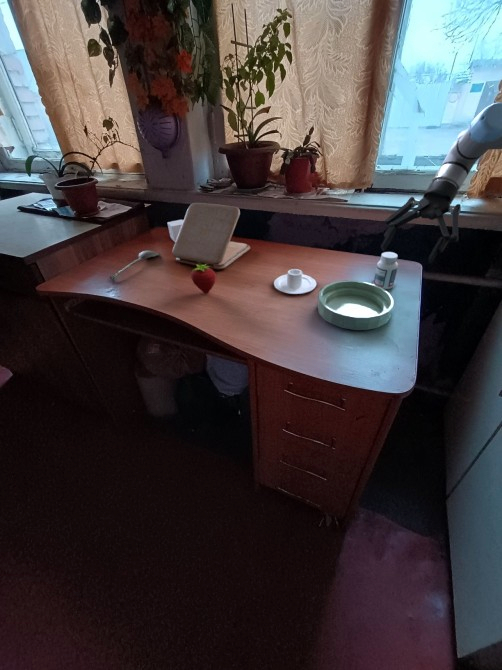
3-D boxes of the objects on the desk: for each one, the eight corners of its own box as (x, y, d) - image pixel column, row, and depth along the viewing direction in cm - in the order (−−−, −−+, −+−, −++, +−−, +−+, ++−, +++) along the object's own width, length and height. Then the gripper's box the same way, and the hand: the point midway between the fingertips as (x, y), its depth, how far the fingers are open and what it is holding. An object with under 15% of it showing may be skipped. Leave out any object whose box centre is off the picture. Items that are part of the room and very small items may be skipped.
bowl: (400, 306, 78) (404, 292, 75) (372, 341, 68) (376, 326, 65) (337, 287, 87) (339, 274, 84) (304, 315, 77) (305, 302, 74)
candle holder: (293, 272, 96) (293, 258, 93) (324, 284, 88) (326, 270, 86) (265, 286, 90) (264, 272, 87) (296, 301, 82) (297, 286, 80)
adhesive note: (189, 238, 123) (186, 223, 119) (174, 242, 121) (171, 226, 117) (184, 234, 127) (181, 219, 124) (170, 237, 125) (167, 222, 122)
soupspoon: (164, 256, 112) (149, 255, 114) (161, 247, 110) (147, 246, 112) (119, 282, 95) (104, 280, 98) (116, 272, 94) (100, 270, 96)
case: (171, 262, 106) (160, 214, 96) (207, 241, 120) (201, 197, 110) (220, 273, 97) (214, 221, 87) (253, 249, 111) (251, 202, 102)
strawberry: (208, 302, 84) (202, 268, 78) (189, 294, 88) (182, 261, 82) (222, 292, 88) (218, 259, 82) (203, 285, 92) (198, 253, 85)
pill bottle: (390, 280, 89) (397, 250, 83) (395, 289, 84) (403, 258, 79) (371, 280, 89) (377, 250, 84) (375, 289, 85) (381, 259, 80)
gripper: (494, 202, 82) (452, 273, 84) (403, 189, 97) (368, 249, 99) (496, 184, 76) (451, 261, 78) (399, 173, 91) (362, 237, 93)
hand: (404, 254), depth 88 cm, fingers open, 13 cm apart
